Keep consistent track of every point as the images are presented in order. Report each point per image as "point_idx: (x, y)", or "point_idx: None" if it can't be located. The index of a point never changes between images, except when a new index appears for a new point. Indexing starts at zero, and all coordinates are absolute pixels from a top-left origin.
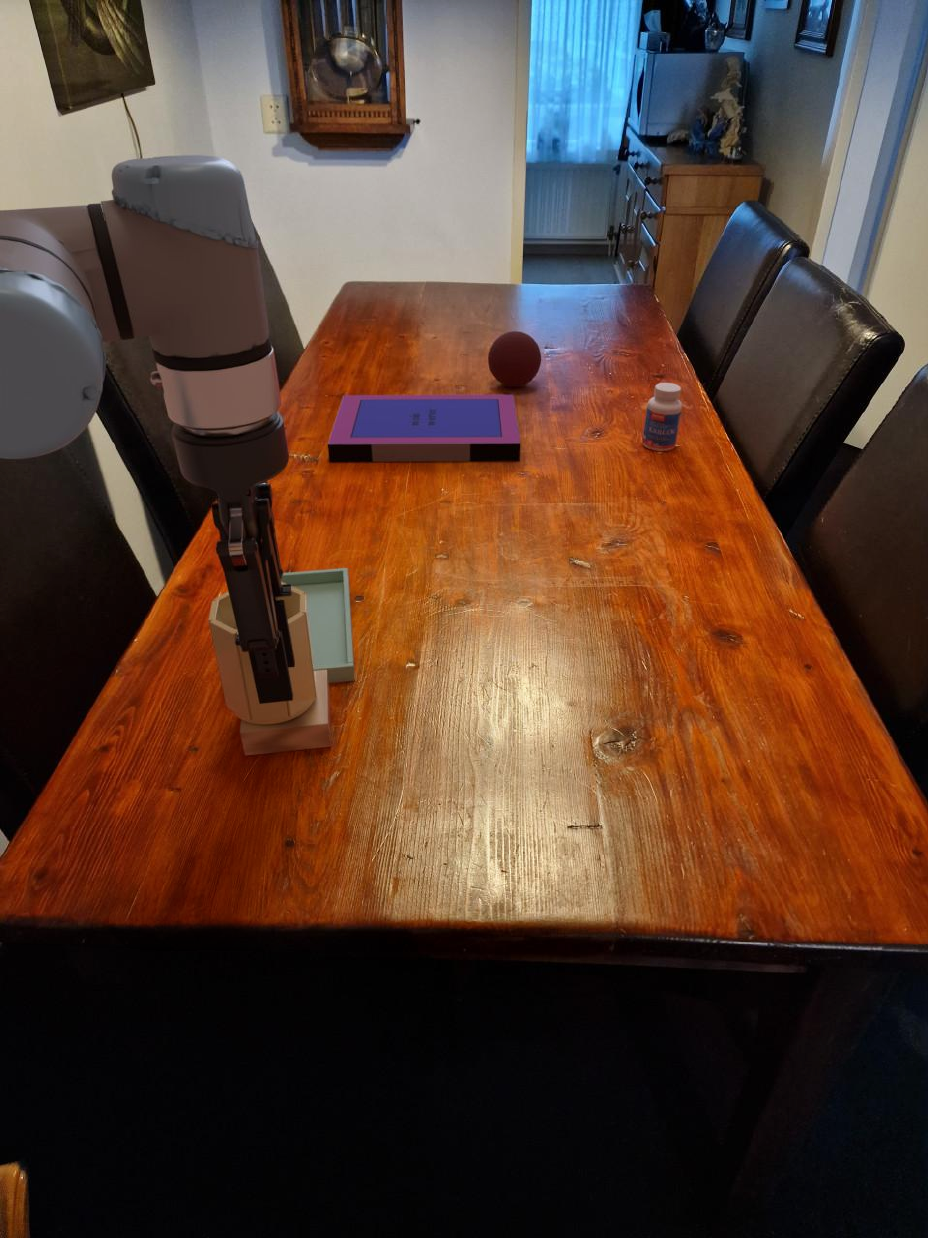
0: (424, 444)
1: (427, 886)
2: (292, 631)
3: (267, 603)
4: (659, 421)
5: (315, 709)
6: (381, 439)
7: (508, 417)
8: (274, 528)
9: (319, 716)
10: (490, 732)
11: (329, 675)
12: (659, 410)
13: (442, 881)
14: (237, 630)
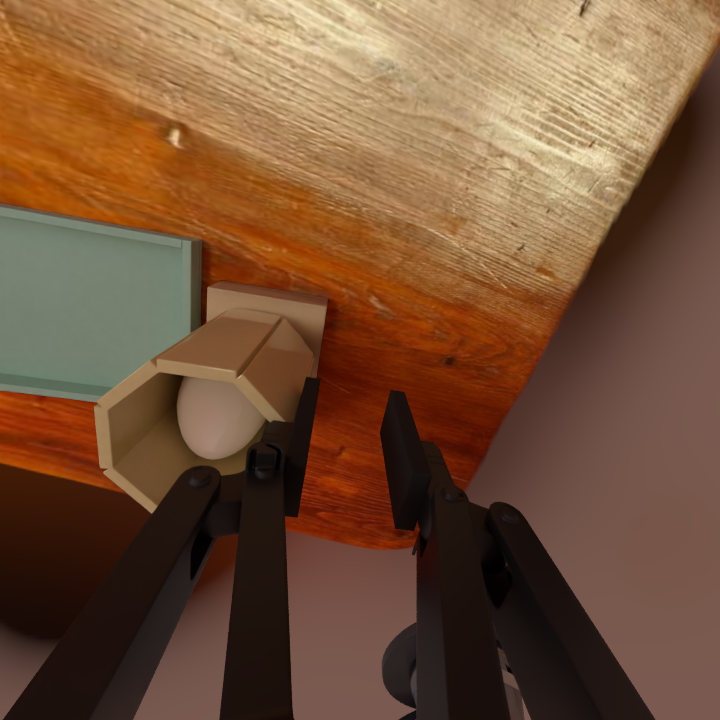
0: None
1: (563, 240)
2: (273, 393)
3: (583, 634)
4: None
5: (294, 317)
6: None
7: None
8: (93, 607)
9: (309, 315)
10: (369, 55)
11: (196, 277)
12: None
13: (566, 222)
14: (207, 455)
